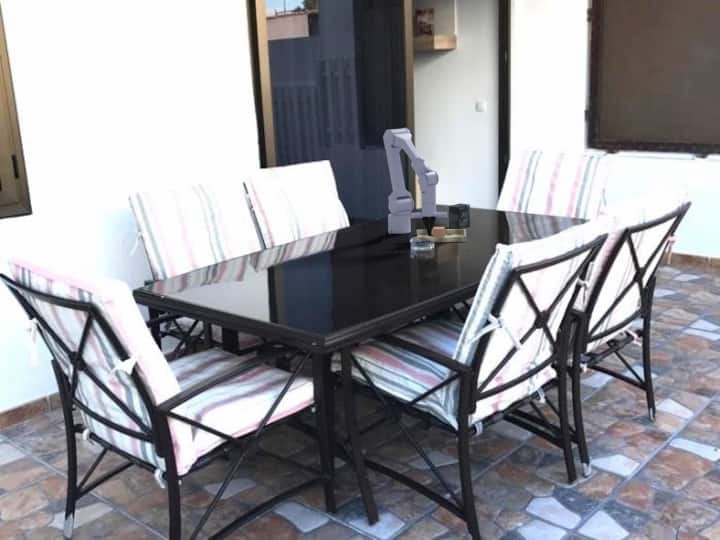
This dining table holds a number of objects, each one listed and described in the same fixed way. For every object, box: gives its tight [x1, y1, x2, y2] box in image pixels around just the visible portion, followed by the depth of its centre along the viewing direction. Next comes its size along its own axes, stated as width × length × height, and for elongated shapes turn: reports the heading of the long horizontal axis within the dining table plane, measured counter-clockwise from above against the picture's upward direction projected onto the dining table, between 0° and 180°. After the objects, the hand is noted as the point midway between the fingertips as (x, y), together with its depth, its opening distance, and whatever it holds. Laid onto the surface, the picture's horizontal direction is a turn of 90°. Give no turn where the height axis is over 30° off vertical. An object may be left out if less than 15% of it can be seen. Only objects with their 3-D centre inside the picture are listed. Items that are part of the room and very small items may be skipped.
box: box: [448, 203, 471, 229], centre depth 315 cm, size 8×6×11 cm
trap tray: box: [413, 228, 467, 243], centre depth 295 cm, size 20×16×3 cm
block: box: [432, 226, 446, 237], centre depth 295 cm, size 4×4×4 cm
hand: (429, 235), depth 296 cm, fingers closed
